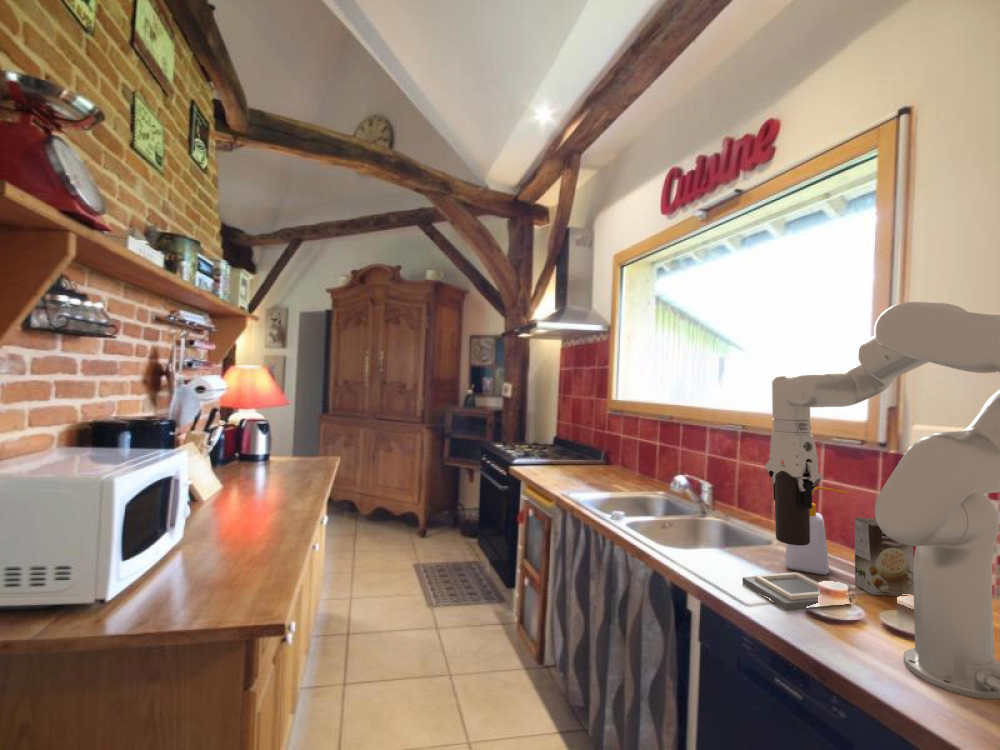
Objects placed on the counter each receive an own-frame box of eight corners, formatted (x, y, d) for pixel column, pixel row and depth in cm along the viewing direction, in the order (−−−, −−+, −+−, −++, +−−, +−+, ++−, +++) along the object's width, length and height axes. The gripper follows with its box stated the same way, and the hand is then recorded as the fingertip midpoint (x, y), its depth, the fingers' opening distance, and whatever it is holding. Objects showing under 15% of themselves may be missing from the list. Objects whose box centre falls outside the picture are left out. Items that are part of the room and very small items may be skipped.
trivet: (850, 604, 105) (850, 593, 105) (786, 610, 102) (785, 599, 102) (800, 579, 118) (800, 569, 118) (742, 583, 116) (742, 573, 116)
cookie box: (872, 595, 109) (870, 525, 109) (854, 584, 115) (852, 517, 116) (915, 597, 108) (913, 526, 109) (895, 585, 115) (893, 518, 115)
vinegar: (804, 538, 113) (803, 453, 113) (814, 547, 106) (813, 457, 107) (772, 535, 115) (771, 452, 115) (779, 544, 108) (778, 456, 109)
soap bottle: (851, 581, 117) (849, 490, 118) (785, 569, 124) (783, 484, 125) (847, 568, 125) (845, 483, 126) (785, 558, 132) (784, 478, 133)
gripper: (837, 430, 103) (838, 513, 103) (778, 423, 120) (779, 495, 120) (806, 431, 102) (807, 515, 102) (751, 424, 119) (752, 496, 119)
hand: (792, 503), depth 111 cm, fingers closed on vinegar, 6 cm apart
